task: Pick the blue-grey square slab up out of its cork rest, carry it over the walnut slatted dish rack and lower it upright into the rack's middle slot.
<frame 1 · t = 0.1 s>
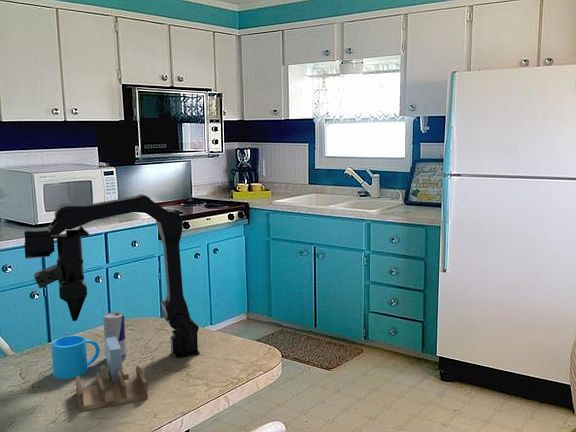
hand: (74, 315, 150), 15 cm above the table, tool pointing down, fingers open, 9 cm apart
rack: (111, 395, 137), on the table
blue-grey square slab: (114, 377, 147), on the table
cork rest: (114, 377, 147), on the table
mug: (78, 370, 152), on the table
energy drink: (116, 358, 160), on the table
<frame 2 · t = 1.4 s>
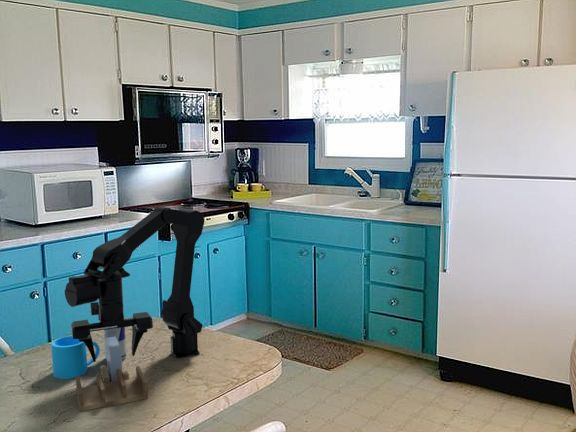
hand: (114, 358, 146), 5 cm above the table, tool pointing down, fingers open, 9 cm apart
nothing on the table moved.
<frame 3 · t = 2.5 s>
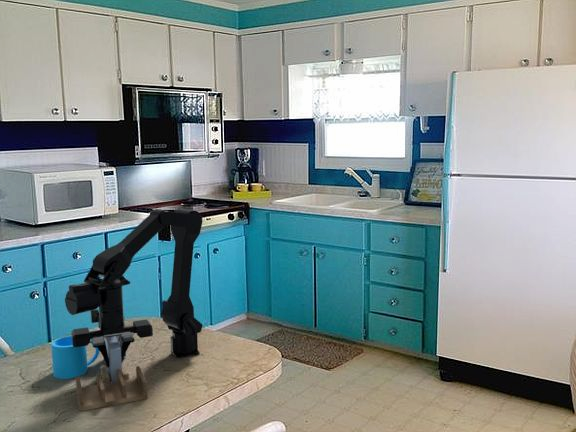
hand: (114, 366, 147), 3 cm above the table, tool pointing down, fingers closed on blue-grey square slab, 2 cm apart
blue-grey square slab: (114, 377, 147), on the table, touching gripper
everything else where it was.
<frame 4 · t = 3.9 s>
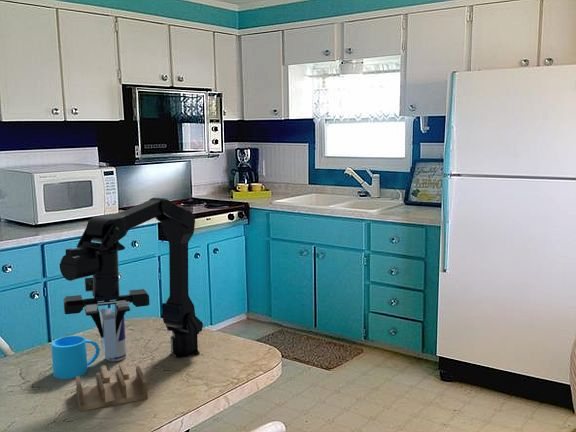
hand: (108, 336, 139), 13 cm above the table, tool pointing down, fingers closed on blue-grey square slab, 2 cm apart
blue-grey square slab: (109, 351, 139), point 9 cm above the table, touching gripper
everything else where it was.
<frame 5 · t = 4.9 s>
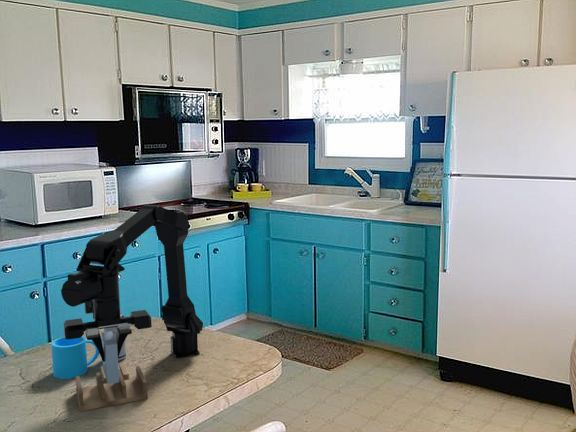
hand: (110, 359, 136), 9 cm above the table, tool pointing down, fingers closed on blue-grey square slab, 2 cm apart
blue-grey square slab: (110, 375, 137), point 5 cm above the table, touching gripper
everything else where it was.
when the fingers open (5 cm above the table, at t = 5.6 s): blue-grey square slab stays where it is, resting on rack.
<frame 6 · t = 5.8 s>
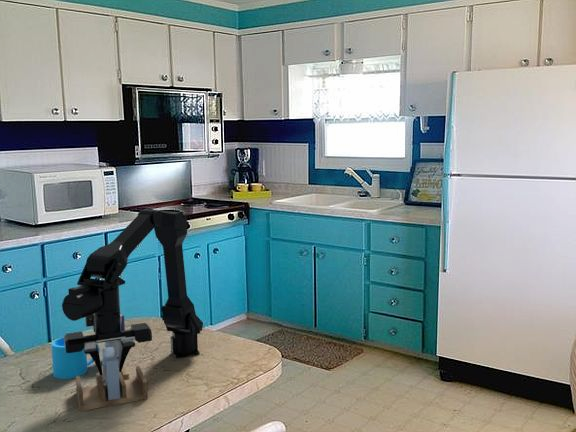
hand: (110, 373, 136), 5 cm above the table, tool pointing down, fingers open, 4 cm apart
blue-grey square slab: (111, 391, 137), point 1 cm above the table, touching rack
everything else where it was.
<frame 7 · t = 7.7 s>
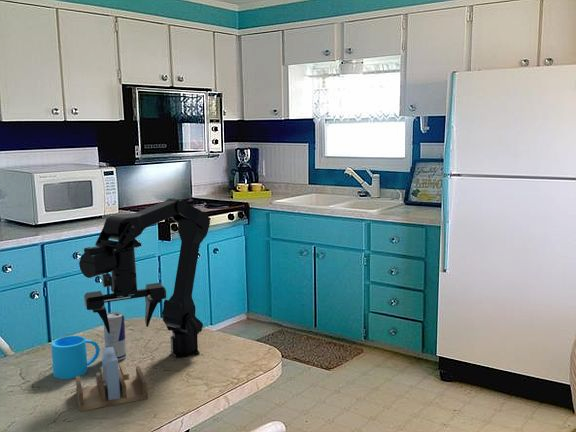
hand: (128, 329, 145), 12 cm above the table, tool pointing down, fingers open, 9 cm apart
nothing on the table moved.
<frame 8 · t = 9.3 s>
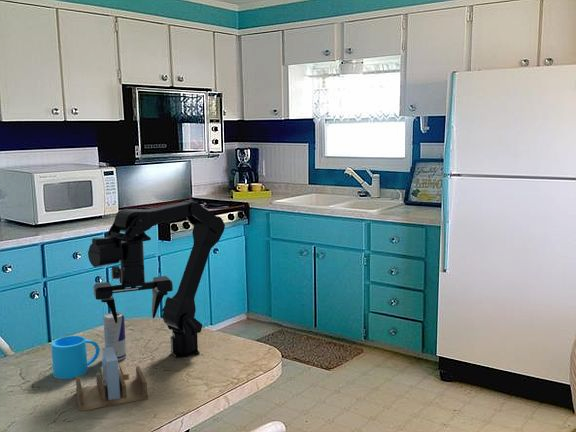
hand: (134, 320, 150), 13 cm above the table, tool pointing down, fingers open, 9 cm apart
nothing on the table moved.
at the end: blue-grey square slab inside the target area on the rack (0.2 cm from its centre), point 1.0 cm above the rack's base; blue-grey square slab tilted 0°; the gripper is holding nothing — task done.
